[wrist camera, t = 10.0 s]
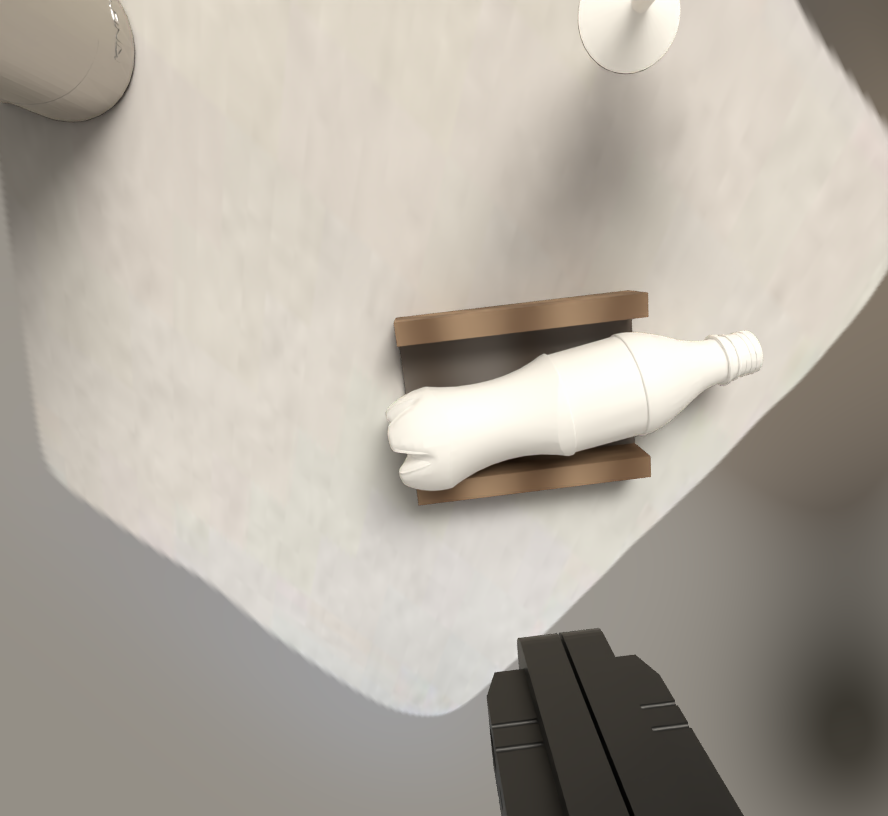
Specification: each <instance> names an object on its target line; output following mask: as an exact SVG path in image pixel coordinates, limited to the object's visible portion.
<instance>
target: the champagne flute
mask: <svg viewBox="0 0 888 816" xmlns="http://www.w3.org/2000/svg"><path fill="white" fill-rule="evenodd" d="M679 19H680V1H679V0H581V1H580V5H579V12H578V24H579V30H580V35H581V39H582V41H583V44H584V46H585V48H586V50H587V51H588V53H589V54H590V56H591V57H592V58H593V59H594V60H595V61H596V62H597V63H598V64H599V65H601V66H603V67H604V68H606V69H608V70H610V71H613V72H617V73H635V72H638V71H641V70H644V69H646V68H648V67H650V66H651V65H653V64H654V63H656V62H657V61H658V60H659V59H660V58H661V57H662V56H663V55H664V54H665V52H666V51H667V50H668V49H669V47H670V45H671V43H672V42H673V40H674V37H675V35H676V32H677V29H678V25H679Z"/></svg>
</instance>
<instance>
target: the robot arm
mask: <svg viewBox="0 0 888 816" xmlns="http://www.w3.org/2000/svg"><path fill="white" fill-rule="evenodd" d="M134 51H135V49H134V42H133V34H132V30H131V27H130V24H129V21H128V18H127V15H126V13H125V11H124V9H123V7H122V5H121V3H120V2H119V0H0V102H1V103H12V104H14V105H17V106H19V107H22V108H24V109H27V110H29V111H32V112H34V113H37V114H40V115H42V116H45V117H48V118H51V119H54V120H60V121H68V122H75V121H85V120H88V119H91V118H94V117H97V116H100V115H101V114H103V113H104V112H106V111H107V110H109V109H110V108H112V107H113V106H114V105H115V103H116V102H117V101H118V100H119V99H120V98H121V97H122V95H123V93H124V92H125V90H126V88H127V86H128V84H129V82H130V78H131V75H132V71H133V67H134ZM517 648H518V661H519V670H511V671H503V672H495V673H494V676H493V679H492V682H491V685H490V689H489V692H488V695H487V703H488V714H489V725H490V735H491V745H492V755H493V766H494V772H495V778H496V784H497V791H498V796H499V803H500V810H501V816H744V815H743V814H742V812H741V810H740V809H739V807H738V805H737V804H736V802H735V800H734V799H733V797H732V795H731V794H730V792H729V790H728V789H727V787H726V785H725V784H724V782H723V780H722V779H721V777H720V775H719V774H718V772H717V770H716V769H715V767H714V765H713V764H712V762H711V760H710V759H709V757H708V755H707V753H706V752H705V750H704V748H703V747H702V745H701V743H700V742H699V740H698V739H697V737H696V735H695V733H694V732H693V730H692V728H689V726H688V722H687V720H686V718H685V717H684V715H683V713H682V712H681V710H680V708H679V707H678V706H676V704H675V700H674V698H673V697H672V695H671V693H670V692H669V690H668V688H667V686H666V685H665V683H664V681H663V680H662V678H661V677H660V675H659V674H658V673H657V672H656V671H654V670H653V669H652V668H651V667H649V666H648V665H647V664H646V663H645V662H643V661H642V660H641V659H640V658H639V657H637V656H636V655H629V656H620V657H615V656H614V653H613V652H612V650H611V648H610V646H609V644H608V642H607V640H606V638H605V636H604V634H603V632H602V631H601V630H600V629H599V628H594V629H586V630H579V631H570V632H562V633H559V635H558V634H557V633H555V634H548V635H539V636H531V637H523V638H518V640H517Z"/></svg>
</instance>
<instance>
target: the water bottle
mask: <svg viewBox="0 0 888 816" xmlns="http://www.w3.org/2000/svg"><path fill="white" fill-rule="evenodd" d="M762 362H763V355H762V349H761V346H760V344H759V342H758V340H757V338H756V337H755V335H753V334H752V333H751V332H750V331H745V330H744V331H741V332H740V331H739V332H735V333H731V334H729V335H723V334H721V335H718V336H717V335H709V336H707V337H706V338H705V339H704V340H703V341H682V340H677V339H673V338H668V337H664V336H659V335H653V334H648V333H640V332H626V333H618V334H614V335H611V337H609V338H606V339H602V340H599V341H595V342H592V343H588V344H584V345H581V346H577V347H574V348H570V349H567V350H563V351H560V352H556V353H553V354H549V355H546V354H542V355H540V356H538V357H537V358H536V359H534V360H533V361H532V362H530V363H528V364H527V365H525V366H523V367H522V368H520V369H518V370H516V371H513V372H511V373H509V374H507V375H504V376H502V377H499V378H496V379H493V380H489V381H485V382H481V383H476V384H471V385H464V386H457V387H422V388H419V389H417V390H414V391H412V392H410V393H408V394H406V395H404V396H402V397H401V398H399V399H398V400H396V401H395V402H394V403H393V404H392V405H391V406H389V407H388V409H387V411H386V418H387V420H388V421H389V422H390V424H389V426H388V432H387V436H388V440H389V445H390V447H391V449H392V451H394V452H399V453H407V458H406V460H405V461H404V463H403V465H402V466H401V468H400V470H399V476H400V478H401V480H402V482H403V483H404V484H405V485H406V486H409V487H412V488H415V489H420V490H428V491H437V490H446V489H450V488H453V487H454V486H456V485H457V484H458V483H460V482H461V481H462V480H464V479H466V478H467V477H469V476H470V475H472V474H474V473H476V472H477V471H480V470H482V469H484V468H486V467H488V466H491V465H493V464H496V463H499V462H502V461H505V460H508V459H512V458H517V457H522V456H529V455H540V454H546V455H564V456H571V455H574V454H575V452H578V451H581V450H585V449H589V448H593V447H596V446H600V445H604V444H607V443H611V442H615V441H618V440H622V439H626V438H629V437H633V436H637V435H639V436H644V435H647V434H649V433H652V432H654V431H656V430H658V429H660V428H662V427H663V426H665V425H666V424H667V423H669V422H670V421H671V420H672V419H673V418H674V417H676V416H677V415H678V414H679V413H680V412H681V411H682V410H683V409H684V408H685V407H686V406H687V405H688V404H689V403H690V402H692V401H693V400H694V399H695V398H696V397H697V396H698V395H699V394H700V393H702V392H703V391H705V390H706V389H708V388H710V387H712V386H714V385H716V384H718V385H720V386H724V385H727V384H729V383H730V382H731V381H734V380H736V379H738V377H742V376H745V375H749V374H753V373H755V372H757V371H759V370H760V368H761V367H762Z"/></svg>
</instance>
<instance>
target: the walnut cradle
mask: <svg viewBox="0 0 888 816" xmlns="http://www.w3.org/2000/svg"><path fill="white" fill-rule="evenodd" d="M643 317H648V293H647V292H638V291H630V290H627V291H619V292H610V293H602V294H593V295H585V296H576V297H568V298H560V299H551V300H543V301H534V302H526V303H517V304H509V305H500V306H492V307H483V308H475V309H467V310H458V311H450V312H441V313H433V314H424V315H416V316H407V317H399V318H396V319H395V321H394V328H395V335H396V342H397V347H400V354H401V361H402V369H403V376H404V384H405V391H406V394H408V393H410V392H412V391H414V390H417V389H419V388H422V387H457V386H464V385H471V384H476V383H481V382H485V381H489V380H493V379H496V378H499V377H502V376H504V375H507V374H509V373H511V372H513V371H516V370H518V369H520V368H522V367H523V366H525V365H527V364H528V363H530V362H532V361H533V360H534V359H536V358H537V357H538V356H540V355H542V354H546V355H549V354H553V353H556V352H560V351H563V350H567V349H570V348H574V347H577V346H581V345H584V344H588V343H592V342H595V341H599V340H602V339H606V338H609V337H611V335H614V334H618V333H626V332H632V319H634V318H643ZM645 477H651V456H650V455H648V454H647V453H646V452H645V451H644V450H642V449H641V448H640V447H639V446H638V445H636V444H635V442H634V436H633V437H629V438H626V439H622V440H618V441H615V442H611V443H607V444H604V445H600V446H596V447H593V448H589V449H585V450H581V451H578V452H575V454H574V455H571V456H564V455H546V454H540V455H529V456H522V457H517V458H512V459H508V460H505V461H502V462H499V463H496V464H493V465H491V466H488V467H486V468H484V469H482V470H480V471H477V472H476V473H474V474H472V475H470V476H469V477H467V478H466V479H464V480H462V481H461V482H460V483H458V484H457V485H456V486H454V487H453V488H450V489H446V490H437V491H428V490H420V489H417V497H418V504H419V505H426V504H434V503H442V502H451V501H459V500H467V499H475V498H483V497H491V496H499V495H507V494H515V493H524V492H532V491H540V490H548V489H556V488H564V487H572V486H580V485H588V484H597V483H605V482H613V481H621V480H629V479H637V478H645Z"/></svg>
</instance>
